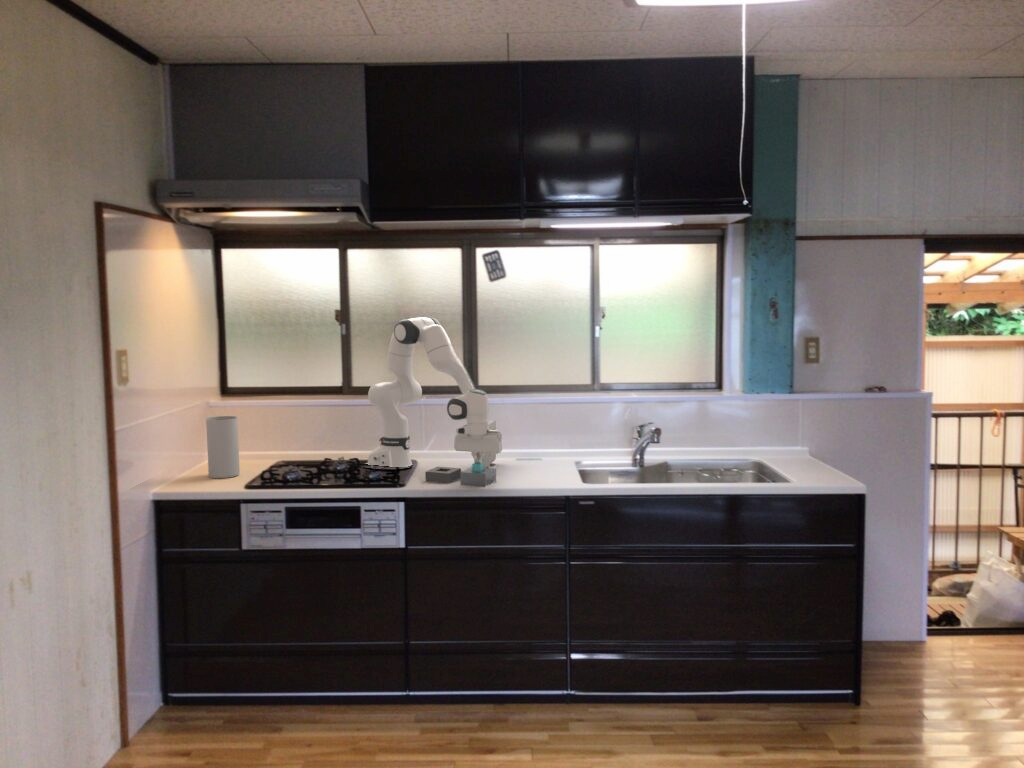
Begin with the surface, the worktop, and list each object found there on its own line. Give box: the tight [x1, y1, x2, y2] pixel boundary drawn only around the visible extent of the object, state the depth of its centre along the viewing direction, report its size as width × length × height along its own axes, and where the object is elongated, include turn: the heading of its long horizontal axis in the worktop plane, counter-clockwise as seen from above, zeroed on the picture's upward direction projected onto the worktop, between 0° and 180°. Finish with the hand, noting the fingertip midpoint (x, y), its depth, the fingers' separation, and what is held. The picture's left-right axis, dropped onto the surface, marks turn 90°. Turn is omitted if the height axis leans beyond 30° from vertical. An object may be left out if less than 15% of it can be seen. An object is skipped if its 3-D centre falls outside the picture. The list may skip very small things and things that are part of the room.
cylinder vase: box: [205, 415, 241, 479], centre depth 328 cm, size 12×12×25 cm
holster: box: [424, 466, 462, 484], centre depth 321 cm, size 11×11×4 cm
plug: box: [471, 462, 484, 472], centre depth 314 cm, size 4×4×8 cm
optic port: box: [459, 466, 497, 487], centre depth 315 cm, size 11×11×5 cm
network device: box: [476, 420, 499, 469], centre depth 341 cm, size 26×9×20 cm, turn 168°
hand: (478, 462), depth 314 cm, fingers closed
